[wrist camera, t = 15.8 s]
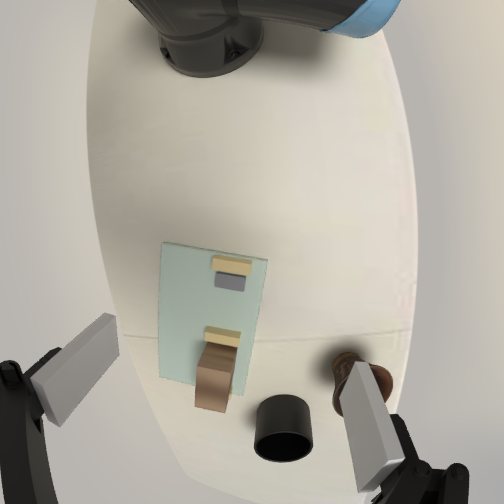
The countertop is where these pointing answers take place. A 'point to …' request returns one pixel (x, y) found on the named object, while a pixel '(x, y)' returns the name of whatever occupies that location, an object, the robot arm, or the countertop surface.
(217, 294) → the wall board
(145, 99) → the countertop surface
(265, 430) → the mug
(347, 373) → the cup
